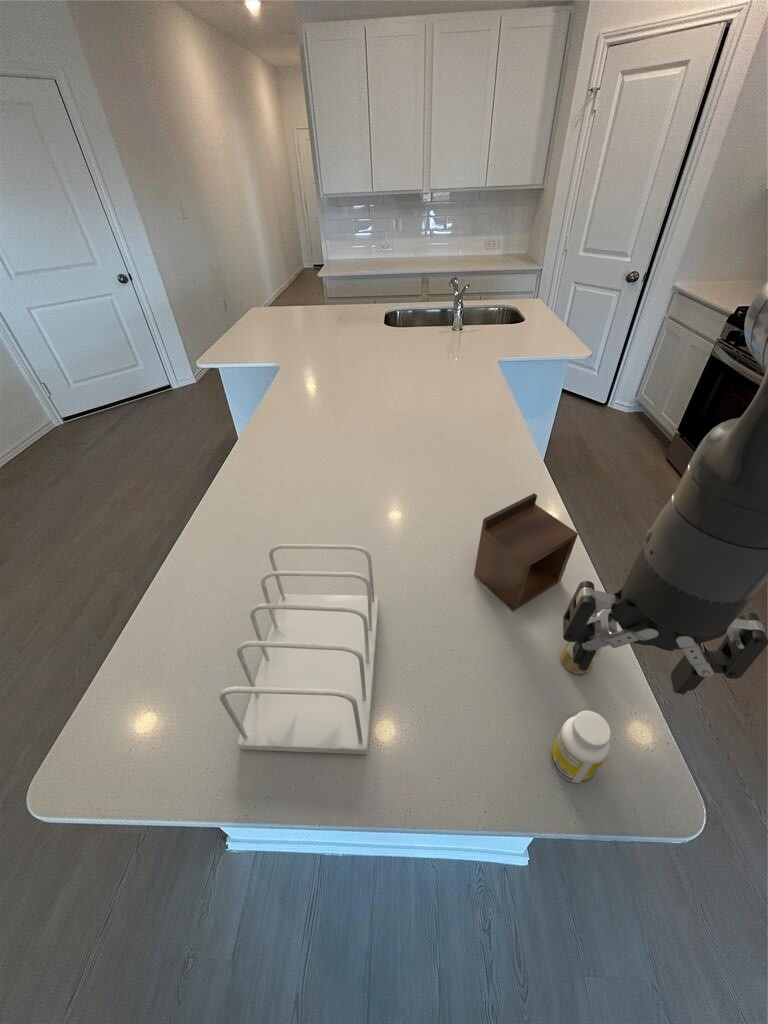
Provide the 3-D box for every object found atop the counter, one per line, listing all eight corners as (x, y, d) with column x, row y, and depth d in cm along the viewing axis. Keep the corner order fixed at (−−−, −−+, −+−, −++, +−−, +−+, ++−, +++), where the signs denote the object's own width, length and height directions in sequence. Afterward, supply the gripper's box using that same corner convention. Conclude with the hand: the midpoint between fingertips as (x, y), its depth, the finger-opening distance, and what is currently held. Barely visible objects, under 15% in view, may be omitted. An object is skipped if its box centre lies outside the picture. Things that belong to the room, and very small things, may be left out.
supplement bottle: (590, 744, 59) (614, 710, 52) (596, 789, 55) (622, 758, 48) (548, 735, 60) (566, 700, 53) (550, 778, 56) (570, 746, 49)
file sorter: (281, 600, 78) (263, 537, 68) (379, 603, 77) (376, 539, 67) (239, 750, 59) (205, 693, 49) (368, 756, 58) (361, 699, 48)
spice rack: (560, 581, 80) (581, 524, 71) (513, 611, 75) (529, 554, 66) (519, 548, 86) (534, 492, 77) (473, 574, 81) (483, 518, 72)
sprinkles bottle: (565, 676, 66) (591, 622, 57) (555, 649, 69) (578, 595, 61) (596, 674, 66) (626, 621, 57) (584, 648, 69) (611, 593, 61)
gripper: (600, 576, 31) (550, 689, 42) (841, 622, 28) (721, 732, 38) (594, 510, 37) (552, 625, 47) (795, 542, 33) (701, 658, 44)
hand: (627, 673), depth 43 cm, fingers open, 8 cm apart
